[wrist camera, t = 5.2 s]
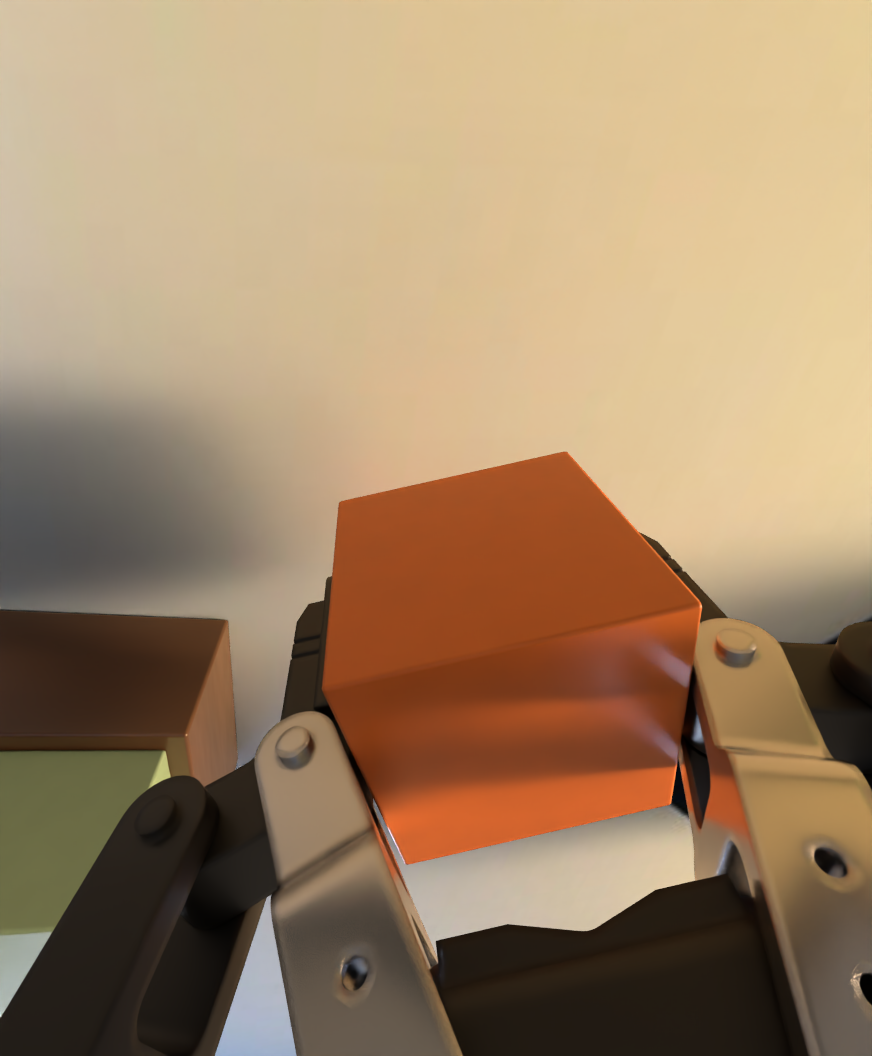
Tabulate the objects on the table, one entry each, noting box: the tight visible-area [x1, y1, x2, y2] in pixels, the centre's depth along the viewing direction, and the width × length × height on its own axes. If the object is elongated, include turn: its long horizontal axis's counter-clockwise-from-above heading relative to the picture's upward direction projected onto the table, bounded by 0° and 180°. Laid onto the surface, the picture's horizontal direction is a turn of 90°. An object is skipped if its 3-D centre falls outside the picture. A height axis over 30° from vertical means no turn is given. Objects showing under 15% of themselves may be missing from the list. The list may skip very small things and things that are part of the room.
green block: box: [0, 750, 171, 1018], centre depth 11 cm, size 6×6×4 cm
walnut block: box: [0, 610, 238, 787], centre depth 14 cm, size 7×7×4 cm
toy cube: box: [322, 452, 702, 864], centre depth 10 cm, size 5×5×5 cm
